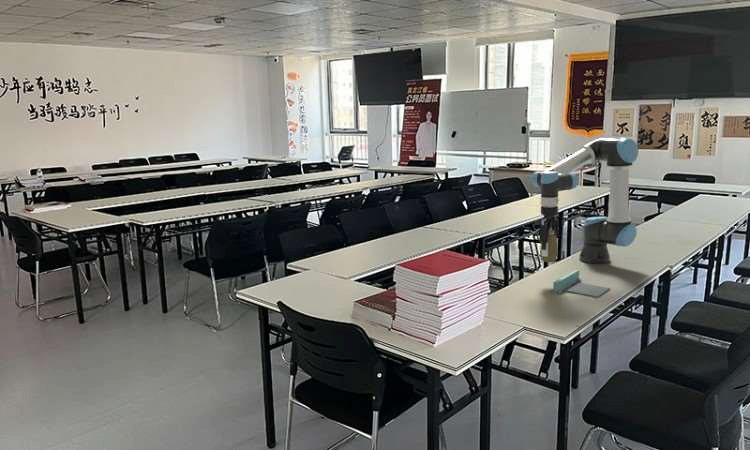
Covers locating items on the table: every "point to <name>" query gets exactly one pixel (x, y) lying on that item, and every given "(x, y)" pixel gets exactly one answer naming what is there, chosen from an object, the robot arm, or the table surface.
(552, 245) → the squeeze bottle
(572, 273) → the fence
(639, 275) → the table surface
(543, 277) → the table surface
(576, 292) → the mat
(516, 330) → the table surface
